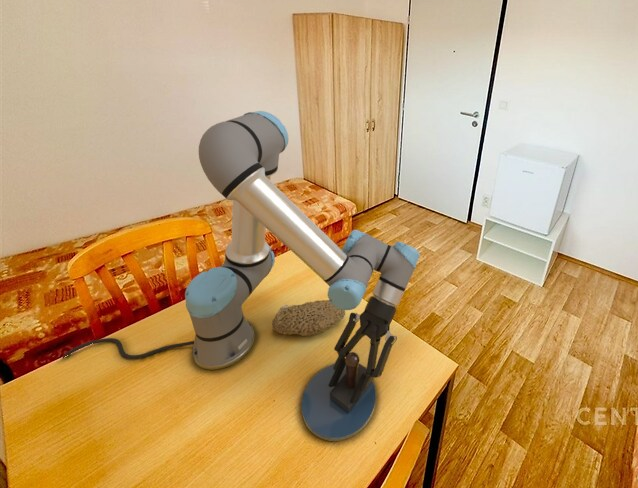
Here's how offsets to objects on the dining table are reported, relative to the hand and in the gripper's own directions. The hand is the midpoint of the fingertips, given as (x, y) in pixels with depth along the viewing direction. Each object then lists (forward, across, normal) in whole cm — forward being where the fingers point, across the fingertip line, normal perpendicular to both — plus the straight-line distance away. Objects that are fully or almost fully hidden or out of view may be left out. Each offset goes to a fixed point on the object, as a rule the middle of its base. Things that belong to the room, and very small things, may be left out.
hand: (342, 393), depth 76 cm
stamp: (0, 0, -5) cm, 5 cm away
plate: (+3, +2, -3) cm, 5 cm away
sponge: (-6, +24, -12) cm, 27 cm away
